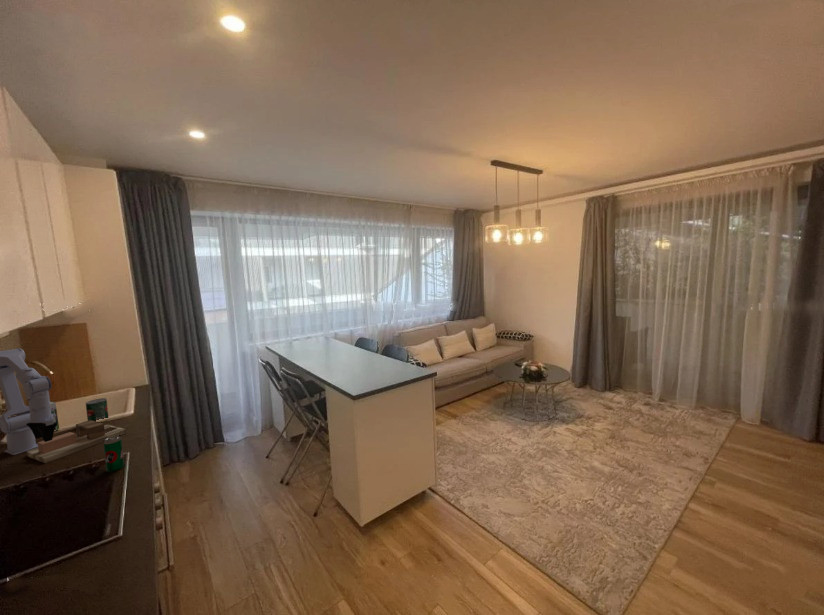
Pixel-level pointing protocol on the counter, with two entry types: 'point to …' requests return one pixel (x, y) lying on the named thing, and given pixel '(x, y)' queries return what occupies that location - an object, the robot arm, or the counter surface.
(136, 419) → the counter surface
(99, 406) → the canned tomato
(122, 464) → the soda can
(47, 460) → the pit track
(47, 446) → the bar
